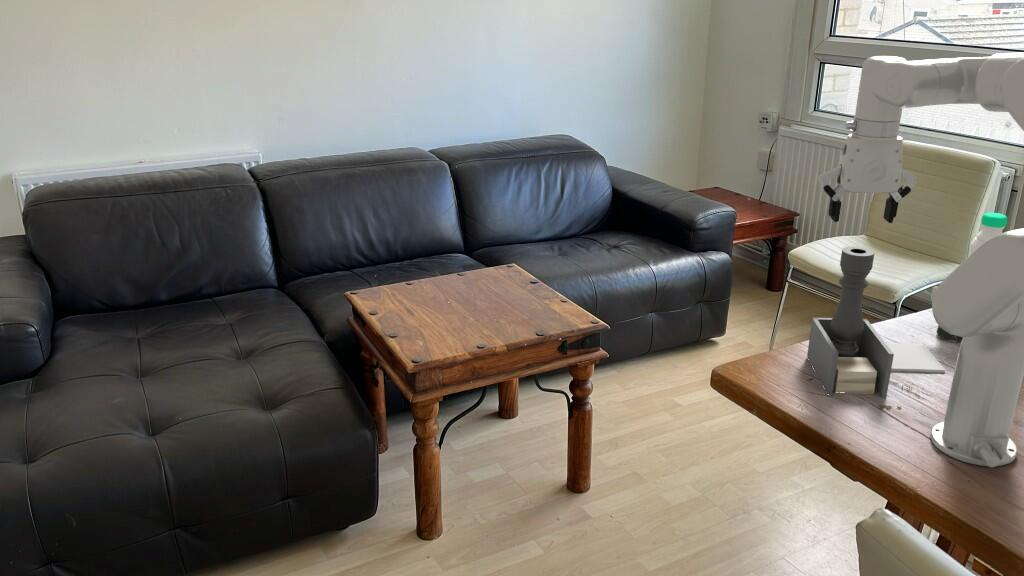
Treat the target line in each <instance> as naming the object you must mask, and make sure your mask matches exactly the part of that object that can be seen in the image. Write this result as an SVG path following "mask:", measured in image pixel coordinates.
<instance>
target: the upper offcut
mask: <svg viewBox="0 0 1024 576" xmlns="http://www.w3.org/2000/svg"><path fill="white" fill-rule="evenodd" d="M876 376H877V371H876V370H875V368H874V367H873V366H872V364H871V363H870V361H869V360H868V359H867V358H861V357H838V360H837V366H836V373H835V381H836V382H837V383H861V384H875V382H876Z"/></svg>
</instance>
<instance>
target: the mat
mask: <svg viewBox="0 0 1024 576" xmlns="http://www.w3.org/2000/svg"><path fill="white" fill-rule="evenodd" d="M885 343H886V345H887V346H888V347H889V348H890V350H891V351H892V352H893V354H894V357H893V362H892V368H891V372H906V373H908V372H910V373H911V372H912V373H913V372H914V373H941V374H942V373H944V374H945V373H946V369H945V368H944V366H943V365H942V364H941V363H940V362H939V361H938V360H937V359H936V357H935V356H934V355H933V354H932V353H931V352H930V350H929V349H928V348H927V347H926V346H925V345H924V344H923V343H906V342H905V343H903V342H885Z"/></svg>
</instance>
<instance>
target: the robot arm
mask: <svg viewBox="0 0 1024 576" xmlns="http://www.w3.org/2000/svg"><path fill="white" fill-rule="evenodd" d="M957 104H958V105H959V104H960V105H961V104H962V105H965V104H967V105H980V106H981V107H982V108H983V109H984V110H986V111H988V112H991V113H992V112H993V113H1009V115H1010V116H1011V118H1012V119H1013V120H1014V121H1015V122H1016V124H1017V125H1018V126H1019V127H1020V128H1021V130H1022V131H1023V132H1024V52H1005V53H1002V52H1001V53H994V54H993V55H991V56H983V57H981V56H979V57H956V58H955V57H954V58H953V57H952V58H935V59H932V58H931V59H922V60H907V58H906V59H905V58H904V57H900V56H893V55H890V56H889V55H876V56H875V55H874V56H871V57H867V58H866V59H865V60H864V62H863V64H862V67H861V73H860V81H859V86H858V94H857V100H856V107H855V111H854V112H855V113H854V117H853V118H852V120H850V121H846V122H845V124H844V129H845V130H849V131H851V132H852V133H849V134H848V136H847V138H846V141H845V143H844V147H843V149H842V153H841V156H840V160H839V164H838V166H836V167H834V168H831V169H830V170H828V171H825V172H823V173H821V174H819V175H818V177H817V179H818V181H819V183H820V185H821V188H822V190H823V191H824V193H825V194H827V195H828V197H829V198H830V200H829V207H828V217H830V219H831V220H832V221H833V223H838V222H839V221H840V215H841V209H842V201H841V198H842V197H844V195H846V193H851V194H853V193H854V194H888V197H887V198H886V199H885V200H886V201H885V206H884V211H883V218H882V219H884V221H886V222H887V223H889V224H893V223H894V218H896V217H897V212H898V208H899V203H901V202H902V200H903V199H904V198H905V197H906V196H907V195H908V194H910V193H911V192H912V189H913V188H915V185H916V184H917V183H918V181H919V178H918V177H917V176H916V175H914V174H912V173H910V172H909V171H907V170H905V169H903V158H904V142H903V137H902V136H899V129H900V124H901V119H902V113H903V109H910V108H922V107H927V106H928V107H929V106H937V105H938V106H941V105H942V106H943V105H957ZM834 178H836V185H835V186H834V187H833V188H832V187H831V186H830V183H829V181H830V180H831V179H834ZM902 178H903V179H905V182H904V184H903V185H901V181H902ZM968 256H969V255H968ZM937 286H938V288H937V290H936V292H935V294H934V297H933V300H931V302H932V304H931V306H932V307H931V311H932V315H933V318H934V321H935V322H936V324H937V325H939V326H940V327H941V328H942V329H943V330H945V331H946V332H948V333H950V334H952V335H955V336H960V337H963V339H962V341H960V345H959V350H958V354H957V359H956V362H955V368H954V371H953V376H952V381H951V388H950V391H949V396H948V401H947V404H946V405H947V406H946V411H945V415H944V420H943V422H940V423H937V424H935V425H934V426H933V427H932V429H931V432H930V440H931V442H932V444H933V445H934V446H935V447H936V448H937V449H938V450H939V451H941V452H943V453H944V454H945V455H948V456H949V457H951V458H953V459H956V460H957V461H958V460H959V461H961V462H965V463H968V464H971V465H977V466H983V467H989V468H995V467H1001V466H1004V465H1008V464H1011V463H1012V462H1013V461H1014V460H1016V457H1017V454H1018V453H1017V452H1018V448H1017V446H1016V444H1015V443H1014V441H1013V440H1012V439H1011V438H1010V433H1011V430H1012V427H1013V421H1014V417H1015V413H1016V408H1017V404H1018V400H1019V396H1020V392H1021V389H1022V386H1023V381H1024V227H1023V228H1017V229H1011V230H1008V231H1004V232H1002V233H1001V234H999V235H997V236H995V237H993V238H991V239H989V240H988V241H986V242H985V243H984V244H982V245H981V246H980V247H979V248H978V249H977V250H976V251H974V252H973V253H972V254H971V255H970V256H969V257H967V258H965V260H964V261H962V262H961V263H960V264H959V265H958V266H957V267H956V268H955V269H954V270H953V271H952V272H950V273H949V274H948V275H947V276H946V277H945V278H944V279H943V280H942V281H941V282H940V284H939V285H937Z"/></svg>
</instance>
